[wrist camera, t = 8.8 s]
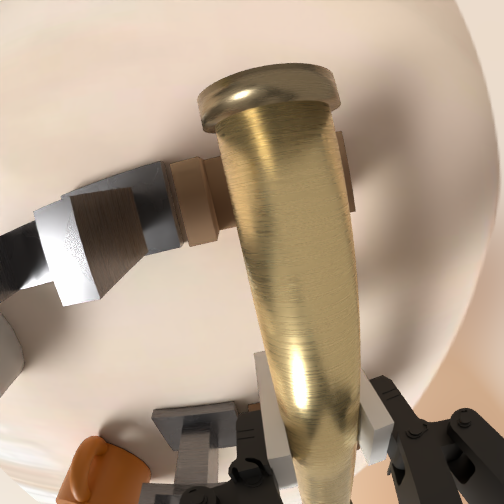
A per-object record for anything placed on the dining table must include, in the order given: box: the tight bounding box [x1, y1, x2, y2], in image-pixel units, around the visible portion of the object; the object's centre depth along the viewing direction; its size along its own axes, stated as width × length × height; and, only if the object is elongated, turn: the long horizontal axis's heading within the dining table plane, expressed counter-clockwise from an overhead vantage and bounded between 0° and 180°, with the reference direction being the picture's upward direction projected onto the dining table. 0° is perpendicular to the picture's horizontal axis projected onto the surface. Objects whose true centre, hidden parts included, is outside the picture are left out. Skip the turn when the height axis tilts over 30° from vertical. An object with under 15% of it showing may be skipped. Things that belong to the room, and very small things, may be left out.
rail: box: [197, 63, 361, 504], centre depth 10 cm, size 24×4×4 cm, turn 12°
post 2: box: [138, 401, 239, 504], centre depth 16 cm, size 5×7×11 cm
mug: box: [56, 436, 151, 504], centre depth 18 cm, size 9×12×9 cm
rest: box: [170, 131, 356, 247], centre depth 14 cm, size 4×8×5 cm, turn 102°
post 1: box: [0, 161, 184, 306], centre depth 11 cm, size 5×7×11 cm
